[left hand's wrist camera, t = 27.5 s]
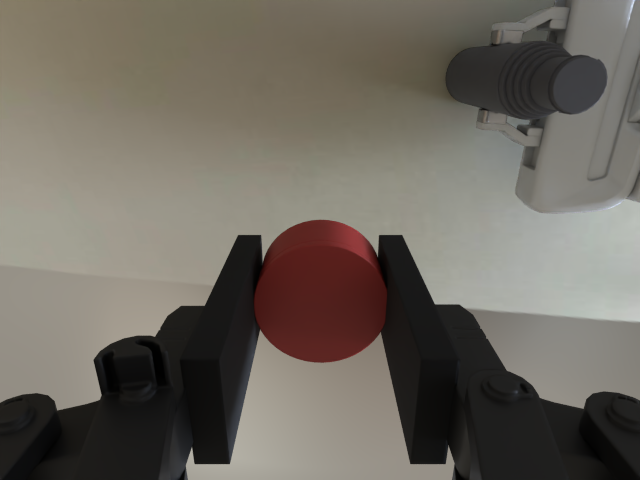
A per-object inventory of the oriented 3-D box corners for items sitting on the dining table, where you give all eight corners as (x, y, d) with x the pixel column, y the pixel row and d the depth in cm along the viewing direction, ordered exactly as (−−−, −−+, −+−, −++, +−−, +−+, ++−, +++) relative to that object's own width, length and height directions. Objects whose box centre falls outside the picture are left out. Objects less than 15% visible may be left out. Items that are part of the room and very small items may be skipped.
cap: (402, 253, 15) (415, 283, 13) (343, 342, 16) (346, 381, 14) (296, 197, 14) (292, 220, 12) (242, 295, 15) (231, 330, 13)
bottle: (471, 114, 40) (573, 149, 24) (434, 80, 39) (515, 93, 23) (509, 71, 39) (645, 78, 23) (472, 35, 38) (587, 14, 22)
